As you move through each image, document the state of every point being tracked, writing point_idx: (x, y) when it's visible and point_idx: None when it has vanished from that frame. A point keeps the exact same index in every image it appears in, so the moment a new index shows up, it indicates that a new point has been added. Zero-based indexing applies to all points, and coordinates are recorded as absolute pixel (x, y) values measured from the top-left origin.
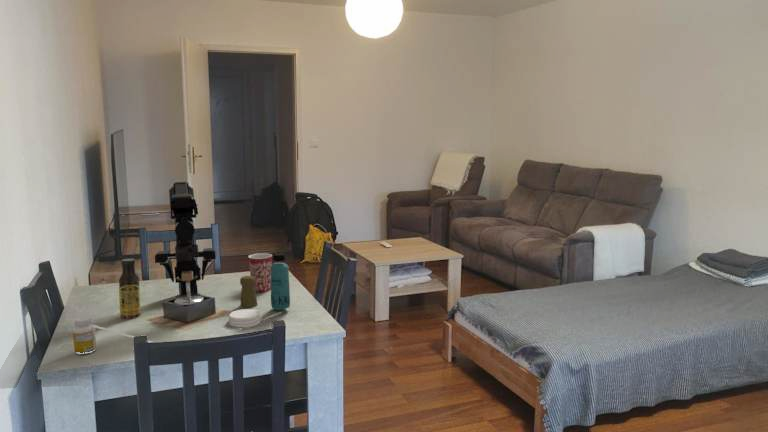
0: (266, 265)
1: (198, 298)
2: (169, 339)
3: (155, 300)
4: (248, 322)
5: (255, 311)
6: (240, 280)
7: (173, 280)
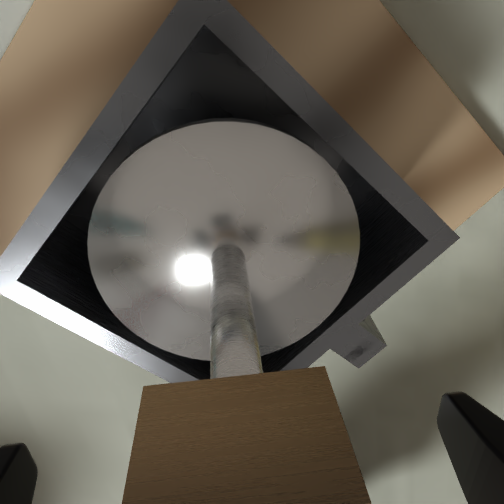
0: None
1: (145, 284)
2: None
3: (434, 469)
4: None
5: None
6: None
7: (460, 408)
